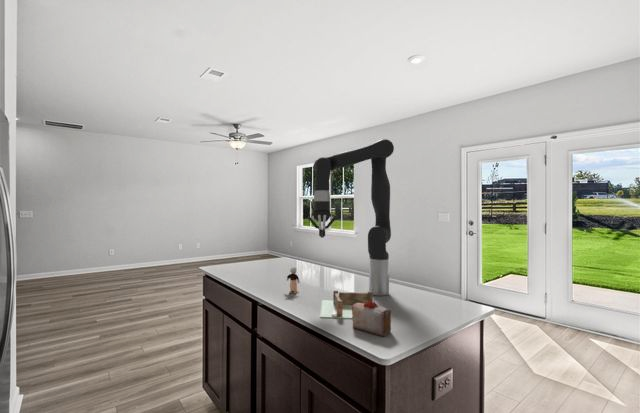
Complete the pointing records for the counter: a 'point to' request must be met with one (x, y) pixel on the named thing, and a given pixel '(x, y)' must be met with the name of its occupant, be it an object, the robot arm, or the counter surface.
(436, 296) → the counter surface
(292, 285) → the grandmother figurine
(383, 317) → the food item
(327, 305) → the card
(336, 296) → the hinged fence panel
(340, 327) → the counter surface
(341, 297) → the fixed fence section
